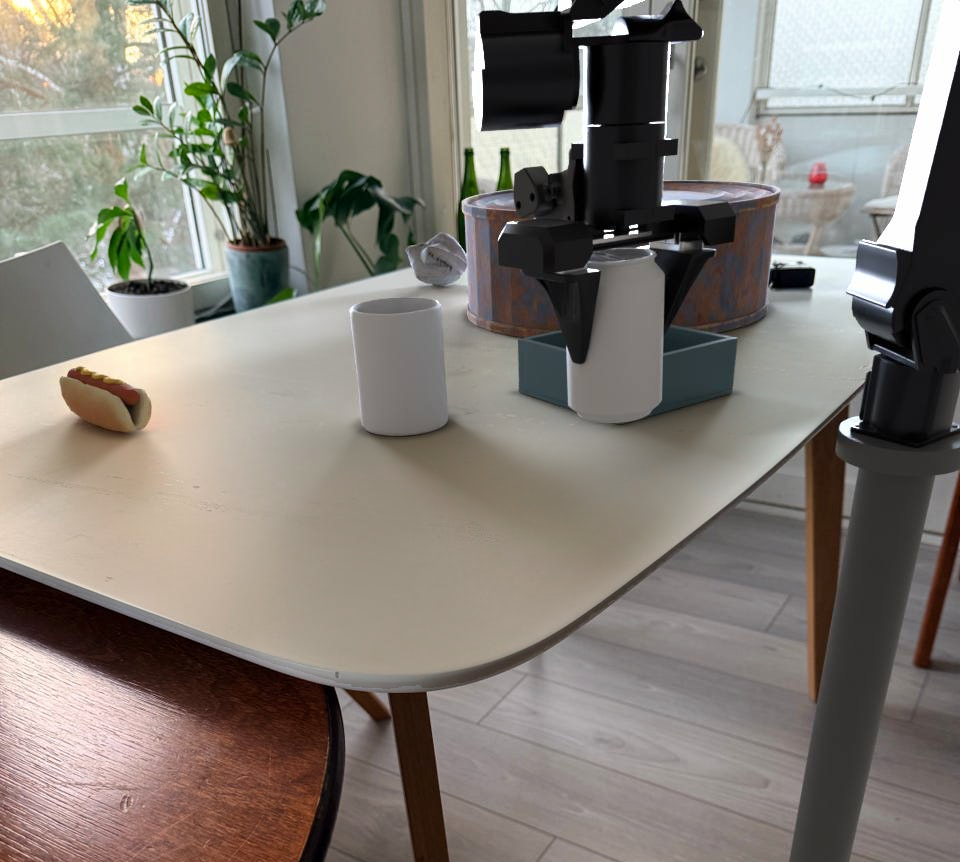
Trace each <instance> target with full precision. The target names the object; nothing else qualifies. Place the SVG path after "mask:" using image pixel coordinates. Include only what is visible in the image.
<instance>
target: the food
mask: <svg viewBox="0 0 960 862" xmlns="http://www.w3.org/2000/svg"><path fill="white" fill-rule="evenodd" d="M66 374H67V375H65V376H64V375H61V376H59V386H60V391H61V393H60V394H61V396H62V398H63V400H64V402H65V404H66V406H67V407H68V409H69V410H70V412H72V413H73V414H74V415H76V416H78V417H79V418H81V419H83V420H84V421H86V422H88V423H90V424H92V425H95V426H98V427H99V428H100V427H101V428H103V429H106V430H109V431H113V432H122V433H127V434H128V433H132V432H134V431H141V430H144V429H145V428H146V427H147V426H148V424H149V422H150V420H151V418H152V411H153V408H152V407H153V406H152V401H151V398H150V396H149V394H148V392H147V391H146V390H145V389H143V388H141V387H138V386H137V387H136V386H134V385H132V384H129V383H127V382H124V381H123V380H121V379H120V378H119V379H118V378H114V377H111V376H109V375H107V374H102V373H99V372H98V371H94V370H90V369H89V368H88V367H85V366H80V365H79V366H76V367H73V368H70V369H69V370H68V371H67V373H66Z"/></svg>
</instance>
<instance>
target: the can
mask: <svg viewBox="0 0 960 862" xmlns="http://www.w3.org/2000/svg"><path fill="white" fill-rule="evenodd" d="M656 256H657V254H656V252H655V251H653V250H650V249H643V248H613V249H606V250H600V251H594V252H593V254H592V256H591V258H590V259H589V261H588V269H593V270H600V271H601V277H600V283H599V289H598V295H597V301H596V307H595V313H594V320H593V326H592V332H591V338H590V344H589V348H588V352H587V356H586V360H585V363H584V364H576V363H573V362H572V360H571V357H570V354H569V351H568V349H567V346H566V353H567V385H568V406H569V407H571V408H572V409H573V410H572V409H571V410H572V411H574V412H575V413H577V416H579V417H580V418H581V419H582V420H586V421H588V422H594V423H598V424H599V423H600V424H615V423H622V422H629V421H632V422H635V421H634V420H636V421H639V420H642V419H641V418H643V419H645V418H644V417H645V416H647V415H649V414H650V413H651V411H652V410H653V409H654V408H655V407H656V406H658V405H659V403H660V402H661V401H662V372H663V329H664V287H665V274H664V272H663V271H662V270H661V269H660V267H659V266H658V265H657V264H656V263H655V262H654V258H655V257H656ZM638 419H639V420H638ZM629 423H630V422H629Z"/></svg>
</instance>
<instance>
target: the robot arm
mask: <svg viewBox="0 0 960 862" xmlns="http://www.w3.org/2000/svg"><path fill="white" fill-rule="evenodd" d="M643 1H644V0H557V4H556V6H554V7H555V8H553V11H552V10H551V11H549V10H548V11H530V12H529V11H528V12H509V11H505V10H502V9H501V10H500V9H488V10H481V11H480V12H479V13H477V14H476V16H475V27H476V28H475V30H476V31H475V32H476V35H475V45H474V46H475V47H474V71H472V73H471V79H472V80H471V81H472V82H471V83H472V98H473V99H472V100H473V109H474V119H475V125H476V129H477V131H478V132H479V133H481V132H496V131H513V130H514V131H516V130H533V129H550V128H552V129H553V128H560V127H561V125H562V123H563V120H564V115H565V112H566V111H572V110H573V111H575V110H576V109H577V107H578V103H579V97H580V89H581V87H580V86H581V63H580V49H583V90H582V91H583V94H582V95H583V96H582V97H583V98H582V99H583V101H582V102H583V103H582V105H583V106H582V108H583V109H582V125H583V126H582V141H579V142H577V141H576V142H571V143H570V148H569V150H568V159H567V160H568V162H567V163H568V164H567V168H566V169H564V170H563V171H561V172H560V171H559V172H553V173H549V172H548V171H547V169H546V168H545V166H543V165H537V166H536V165H535V166H527V167H523V168H521V169H519V170H518V171H516V172H515V173H514V175H513V189H514V194H513V199H514V204H515V208H516V213H517V215H518V216H519V217H520V218H521V219H527V218H534V219H533V220H525V221H518V222H510V223H506V225H505V227H504V229H503V230H502V232H501V234H500V236H499V239H498V264H499V266H504V267H510V268H516V269H520V271H521V272H522V274H523V275H524V276H528V277H533V278H534V279H535V280H536V281H537V282H538V283H539V284H540V285H541V287H542V288H543V289H544V290H545V292H546V293H547V296H548V298H549V300H550V302H551V304H552V306H553V309H554V311H555V314H556V317H557V319H558V322H559V325H560V328H561V331H562V334H563V337H564V340H565V343H566V346H567V349H568V351H569V354H570V357H571V360H572V362H573V363H576V364H584V363H585V360H586V356H587V352H588V348H589V344H590V338H591V332H592V326H593V320H594V313H595V307H596V301H597V295H598V289H599V283H600V277H601V271H600V270H593V269H588V261H589V259H590V258H591V256H592V254H593V252H594V251H600V250H606V249H613V248H619V247H625V246H631V245H637V244H644V243H649V246H644V247H638V248H643V249H650V250H653V251H655V252H656V254H657V256H656V257H655V258H654V262H655V263H656V264H657V265H658V266H659V267H660V269H661V270H662V271H663V272H664V274H665V287H664V329H663V339H664V337H665V335H666V334H667V332H668V330H669V328H670V326H671V324H672V322H673V320H674V318H675V316H676V314H677V312H678V310H679V309H680V307H681V305H682V303H683V301H684V299H685V297H686V296H687V294H688V292H689V290H690V289H691V287H692V285H693V284H694V282H695V280H696V279H697V277H698V276H699V274H700V272H701V271H702V269H703V267H704V266H705V264H706V262H707V261H708V260H709V259H710V258H713V257H715V255H716V250H715V249H708V248H703V243H704V245H706V246H714V245H719V244H725V243H731V242H734V235H735V224H736V214H735V213H734V211H733V209H732V208H731V206H730V204H729V202H724V201H708V200H693V199H682V200H675V201H667V202H662V199H663V180H664V179H665V160H666V159H665V158H666V157H672V156H678V153H679V151H678V150H679V138H666V136H667V118H668V117H667V115H668V97H669V96H668V95H669V77H670V76H669V75H670V58H671V56H670V55H671V45H676V44H687V43H691V42H697V41H700V40H701V39H702V38H703V36H704V29H703V27H702V26H701V25H699V23H697V21H696V20H695V19H694V18H692V17H691V15H690V14H689V13H688V11H687V10H686V8H685V6H684V4H683V1H682V0H671V1H669V2H667V3H666V4H665V6H664V7H663V9H662V10H661V11H660V13H659V14H642V15H641V14H640V15H623V16H622V15H621V16H618V18H617V19H616V20H615V22H614V25H613V27H612V31H611V34H609V35H595V36H573V35H574V34H573V33H574V31H573V29H578V28H581V27H584V26H587V25H589V24H592V23H595V22H597V21H600V20H603V19H605V18H606V17H608V16H609V15H610V14H611V13H612V12H614V11H615V10H617V9H618V10H619V9H623V8H628V7H631V6H633V5H635V4H638V3H640V2H643ZM845 294H847V295H849V296H851V297H852V300H851V312H852V317H853V318H855V321H856V322H857V323H858V325H859V326H860V328H861V329H863V330H864V336H865V341H866V346H867V349H869V350H870V351H875V352H877V354H874V355H873V359H872V363H871V370H868V372H866V373H865V377H864V384H863V390H862V396H861V401H860V407H859V413H858V416H859V419H860V420H862V421H861V422H858V423H855V424H853V425H851V428H850V431H852V432H855V433H859V434H863V435H866V436H870V437H874V438H878V439H881V440H885V441H889V442H893V443H897V444H900V445H904V446H908V447H912V448H922V447H924V446H927V445H930V444H932V443H935V442H937V441H940V440H943V439H945V438H948V437H950V436H953V435H956V434H958V433H960V426H957V425H953V424H952V422H954V418H955V413H956V408H957V404H958V399H959V395H960V0H943V4H942V8H941V13H940V17H939V22H938V26H937V29H936V34H935V38H934V42H933V47H932V51H931V56H930V60H929V64H928V68H927V73H926V77H925V81H924V85H923V90H922V94H921V98H920V102H919V107H918V112H917V115H916V120H915V125H914V128H913V133H912V137H911V141H910V145H909V149H908V155H907V159H906V163H905V166H904V171H903V176H902V180H901V185H900V189H899V193H898V197H897V201H896V205H895V210H894V213H893V216H892V218H891V220H890V222H889V223H888V225H887V226H886V228H885V229H884V230H883V232H882V234H881V235H880V236H879V237H878V239H877V240H876V242H874V241H870V240H867V239H866V240H865V239H861V240H860V241H859V242H858V246H857V248H856V256H855V267H854V273H853V276H852V279H851V281H850V283H849V285H848V287H847V289H846V291H845Z"/></svg>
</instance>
